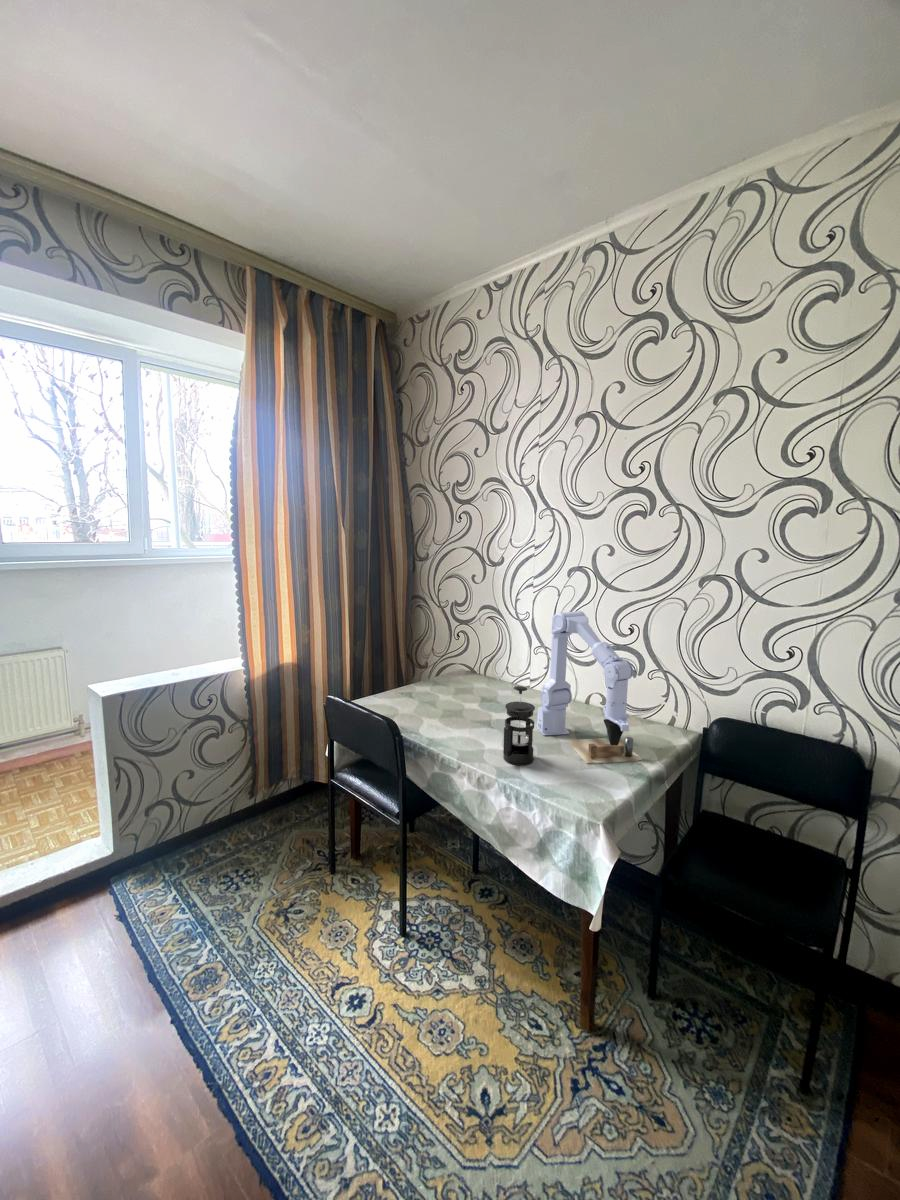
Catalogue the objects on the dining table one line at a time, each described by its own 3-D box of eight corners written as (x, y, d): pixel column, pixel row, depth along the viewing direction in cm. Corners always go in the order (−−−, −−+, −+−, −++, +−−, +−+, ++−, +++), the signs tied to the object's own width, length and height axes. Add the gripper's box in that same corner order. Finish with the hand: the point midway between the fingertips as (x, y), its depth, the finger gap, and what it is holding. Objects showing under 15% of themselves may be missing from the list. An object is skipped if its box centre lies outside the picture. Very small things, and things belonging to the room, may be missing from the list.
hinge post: (626, 758, 152) (627, 740, 151) (622, 754, 155) (623, 737, 154) (633, 758, 153) (634, 739, 152) (629, 754, 155) (630, 736, 154)
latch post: (610, 742, 164) (610, 729, 163) (606, 739, 166) (607, 727, 165) (615, 741, 164) (615, 728, 164) (611, 739, 166) (612, 726, 166)
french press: (517, 748, 159) (519, 679, 156) (541, 758, 152) (544, 687, 149) (493, 759, 151) (495, 688, 148) (517, 770, 144) (519, 696, 141)
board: (586, 764, 149) (586, 762, 149) (566, 741, 164) (566, 740, 164) (642, 760, 151) (642, 759, 151) (617, 738, 167) (617, 737, 167)
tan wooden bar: (620, 752, 154) (621, 741, 154) (623, 755, 152) (624, 744, 152) (588, 754, 153) (588, 743, 152) (590, 757, 151) (591, 746, 150)
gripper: (640, 709, 137) (637, 755, 139) (619, 692, 151) (617, 734, 153) (615, 710, 137) (613, 755, 139) (597, 692, 151) (595, 734, 153)
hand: (613, 744), depth 146 cm, fingers closed
